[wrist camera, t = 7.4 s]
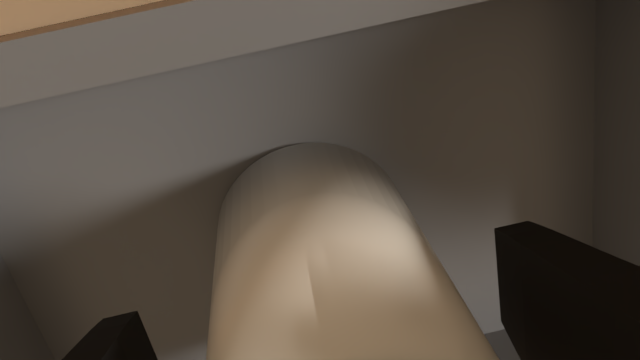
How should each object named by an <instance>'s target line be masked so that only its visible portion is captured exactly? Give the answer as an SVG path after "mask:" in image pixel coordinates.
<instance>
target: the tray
mask: <svg viewBox="0 0 640 360" xmlns="http://www.w3.org/2000/svg"><path fill="white" fill-rule="evenodd" d="M303 143H329V144H336V145H340V146H344V147H348V148H350V149H353V150H355V151H358V152H360V153H362V154H363V155H365V156H367V157H369V158H370V159H371V160H373V161H374V162H375V163H376V164H378V165H379V166H380V167H381V168H382V169H383V170H384V171H385V172H386V174H387V175H388V176H389V178H390V179H391V181H392V182H393V184H394V185H395V187H396V189H397V190H398V192H399V194H400V195H401V197H402V199H403V200H404V202H405V204H406V205H407V207H408V209H409V210H410V212H411V214H412V215H413V217H414V219H415V220H416V222H417V224H418V225H419V227H420V229H421V230H422V232H423V234H424V235H425V237H426V239H427V240H428V242H429V244H430V245H431V247H432V249H433V250H434V252H435V254H436V255H437V257H438V258H439V260H440V262H441V263H442V265H443V267H444V268H445V270H446V272H447V273H448V275H449V277H450V278H451V280H452V282H453V283H454V285H455V287H456V288H457V290H458V292H459V293H460V295H461V297H462V298H463V300H464V302H465V303H466V305H467V307H468V308H469V310H470V312H471V313H472V315H473V317H474V318H475V320H476V322H477V323H478V325H479V327H480V328H481V330H482V332H483V333H484V335H485V337H486V338H487V340H488V342H489V343H490V345H491V347H492V348H493V350H494V352H495V353H496V355H497V357H498V358H499V360H521V359H520V357H519V355H518V354H517V352H516V350H515V348H514V346H513V344H512V342H511V340H510V338H509V336H508V334H507V332H506V330H505V328H504V326H503V324H502V322H501V315H500V301H499V288H498V274H497V260H496V246H495V233H494V228H498V227H503V226H507V225H511V224H516V223H520V222H524V221H530V222H533V223H536V224H539V225H542V226H544V227H547V228H549V229H552V230H554V231H556V232H559V233H561V234H564V235H566V236H568V237H571V238H573V239H575V240H578V241H580V242H582V243H585V244H587V245H590V246H592V247H594V248H597V249H599V250H601V251H604V252H606V253H608V254H611V255H613V256H616V257H618V258H620V259H623V260H625V261H628V262H630V263H633V264H635V265H638V266H640V0H164V1H159V2H155V3H150V4H146V5H141V6H136V7H132V8H127V9H123V10H118V11H113V12H109V13H104V14H100V15H95V16H90V17H86V18H81V19H77V20H72V21H67V22H63V23H58V24H54V25H49V26H44V27H40V28H35V29H31V30H26V31H21V32H17V33H12V34H8V35H3V36H0V360H62V359H63V358H64V357H65V356H66V355H67V354H68V353H69V351H70V350H71V349H72V348H73V347H74V346H75V345H76V344H77V343H78V342H79V341H80V340H81V339H82V338H83V337H84V336H85V335H86V334H87V333H88V332H89V331H90V330H91V329H92V328H93V327H94V326H95V325H96V324H97V323H99V322H100V321H101V320H102V319H103V318H107V317H112V316H116V315H121V314H125V313H129V312H134V311H138V313H139V316H140V318H141V320H142V323H143V325H144V328H145V330H146V332H147V335H148V337H149V340H150V342H151V345H152V347H153V349H154V352H155V354H156V357H157V359H158V360H206V353H207V341H208V330H209V319H210V307H211V296H212V285H213V273H214V262H215V251H216V240H217V228H218V219H219V213H220V210H221V206H222V203H223V201H224V199H225V196H226V194H227V192H228V191H229V189H230V188H231V186H232V184H233V183H234V182H235V181H236V179H237V178H238V177H239V176H240V175H241V174H242V173H243V172H244V171H245V170H246V169H247V168H248V167H249V166H250V165H252V164H253V163H255V162H256V161H257V160H259V159H260V158H262V157H264V156H266V155H268V154H269V153H271V152H274V151H276V150H279V149H282V148H284V147H288V146H292V145H296V144H303Z"/></svg>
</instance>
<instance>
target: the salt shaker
mask: <svg viewBox="0 0 640 360" xmlns="http://www.w3.org/2000/svg"><path fill="white" fill-rule="evenodd" d="M206 360H499V358H498V357H497V355H496V353H495V352H494V350H493V348H492V347H491V345H490V343H489V342H488V340H487V338H486V337H485V335H484V333H483V332H482V330H481V328H480V327H479V325H478V323H477V322H476V320H475V318H474V317H473V315H472V313H471V312H470V310H469V308H468V307H467V305H466V303H465V302H464V300H463V298H462V297H461V295H460V293H459V292H458V290H457V288H456V287H455V285H454V283H453V282H452V280H451V278H450V277H449V275H448V273H447V272H446V270H445V268H444V267H443V265H442V263H441V262H440V260H439V258H438V257H437V255H436V254H435V252H434V250H433V249H432V247H431V245H430V244H429V242H428V240H427V239H426V237H425V235H424V234H423V232H422V230H421V229H420V227H419V225H418V224H417V222H416V220H415V219H414V217H413V215H412V214H411V212H410V210H409V209H408V207H407V205H406V204H405V202H404V200H403V199H402V197H401V195H400V194H399V192H398V190H397V189H396V187H395V185H394V184H393V182H392V181H391V179H390V178H389V176H388V175H387V174H386V172H385V171H384V170H383V169H382V168H381V167H380V166H379V165H378V164H376V163H375V162H374V161H373V160H371V159H370V158H369V157H367V156H365V155H363V154H362V153H360V152H358V151H355V150H353V149H350V148H348V147H344V146H340V145H336V144H329V143H303V144H296V145H292V146H288V147H284V148H282V149H279V150H276V151H274V152H271V153H269V154H268V155H266V156H264V157H262V158H260V159H259V160H257V161H256V162H255V163H253V164H252V165H250V166H249V167H248V168H247V169H246V170H245V171H244V172H243V173H242V174H241V175H240V176H239V177H238V178H237V179H236V181H235V182H234V183H233V184H232V186H231V188H230V189H229V191H228V192H227V194H226V196H225V199H224V201H223V203H222V206H221V210H220V213H219V219H218V228H217V240H216V251H215V262H214V273H213V285H212V296H211V307H210V319H209V330H208V341H207V353H206Z"/></svg>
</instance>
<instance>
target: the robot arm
mask: <svg viewBox="0 0 640 360" xmlns="http://www.w3.org/2000/svg"><path fill="white" fill-rule="evenodd" d="M494 233H495V246H496V260H497V274H498V288H499V301H500V315H501V322H502V324H503V326H504V328H505V330H506V332H507V334H508V336H509V338H510V340H511V342H512V344H513V346H514V348H515V350H516V352H517V354H518V355H519V357H520V359H521V360H640V266H638V265H635V264H633V263H630V262H628V261H625V260H623V259H620V258H618V257H616V256H613V255H611V254H608V253H606V252H604V251H601V250H599V249H597V248H594V247H592V246H590V245H587V244H585V243H582V242H580V241H578V240H575V239H573V238H571V237H568V236H566V235H564V234H561V233H559V232H556V231H554V230H552V229H549V228H547V227H544V226H542V225H539V224H536V223H533V222H530V221H524V222H520V223H516V224H511V225H507V226H503V227H498V228H494ZM62 360H158V359H157V357H156V354H155V352H154V349H153V347H152V345H151V342H150V340H149V337H148V335H147V332H146V330H145V328H144V325H143V323H142V320H141V318H140V316H139V313H138V311H134V312H129V313H125V314H121V315H116V316H112V317H107V318H103V319H102V320H101V321H100V322H99V323H97V324H96V325H95V326H94V327H93V328H92V329H91V330H90V331H89V332H88V333H87V334H86V335H85V336H84V337H83V338H82V339H81V340H80V341H79V342H78V343H77V344H76V345H75V346H74V347H73V348H72V349H71V350H70V351H69V353H68V354H67V355H66V356H65V357H64V358H63V359H62Z"/></svg>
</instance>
